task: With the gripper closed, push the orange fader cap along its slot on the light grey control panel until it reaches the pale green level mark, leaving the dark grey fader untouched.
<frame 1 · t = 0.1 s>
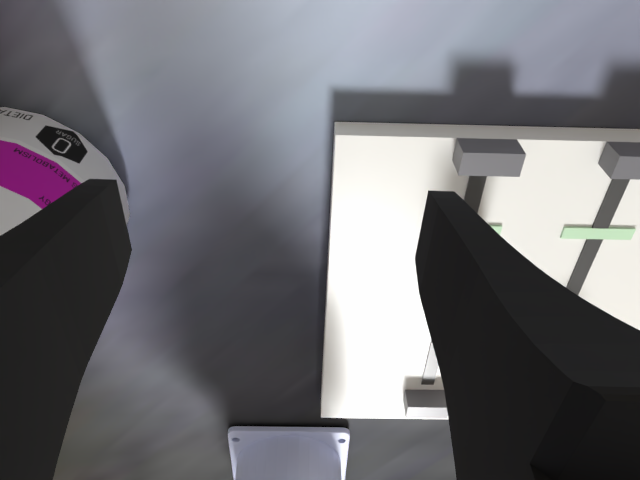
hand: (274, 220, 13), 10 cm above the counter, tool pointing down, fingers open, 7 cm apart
supplement can: (41, 184, 24), on the counter
panel: (497, 293, 28), on the counter
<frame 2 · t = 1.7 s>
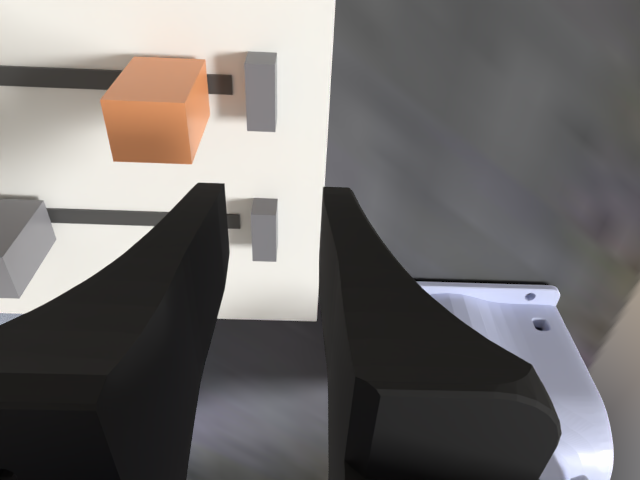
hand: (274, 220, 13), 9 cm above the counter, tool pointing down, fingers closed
fader grey: (0, 246, 21), point 3 cm above the counter, slide at 8.0 cm
panel: (91, 138, 22), on the counter
fader orange: (161, 108, 17), point 3 cm above the counter, slide at 1.0 cm
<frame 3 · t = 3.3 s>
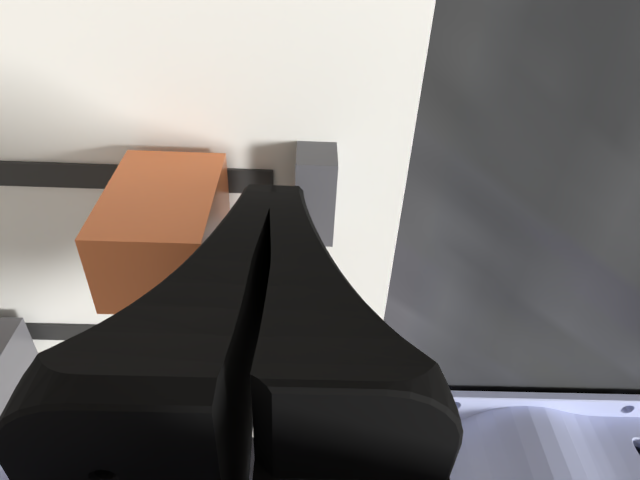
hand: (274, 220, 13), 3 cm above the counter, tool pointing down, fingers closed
panel: (84, 236, 17), on the counter
fader orange: (165, 228, 12), point 3 cm above the counter, slide at 1.3 cm, touching gripper
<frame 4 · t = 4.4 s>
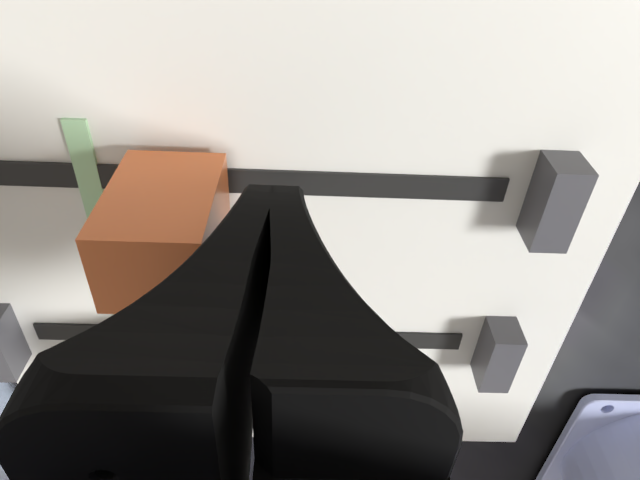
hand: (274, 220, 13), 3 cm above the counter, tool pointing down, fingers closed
panel: (282, 242, 17), on the counter
fader orange: (166, 227, 12), point 3 cm above the counter, slide at 7.5 cm, touching gripper
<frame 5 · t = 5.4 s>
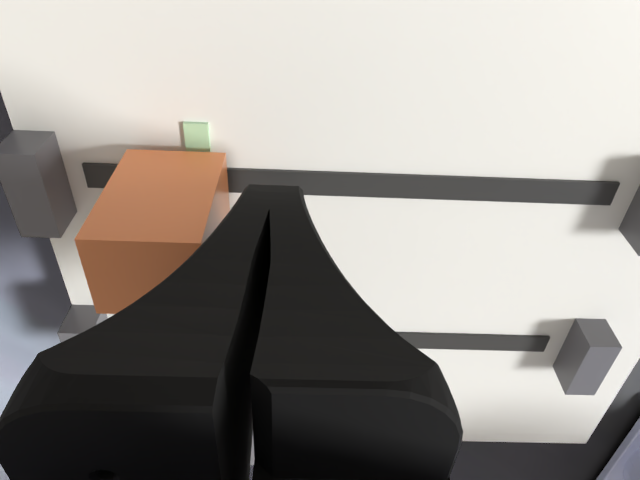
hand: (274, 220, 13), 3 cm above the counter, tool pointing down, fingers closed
fader grey: (274, 391, 16), point 3 cm above the counter, slide at 8.0 cm
panel: (375, 245, 17), on the counter
fader orange: (165, 227, 12), point 3 cm above the counter, slide at 10.5 cm, touching gripper
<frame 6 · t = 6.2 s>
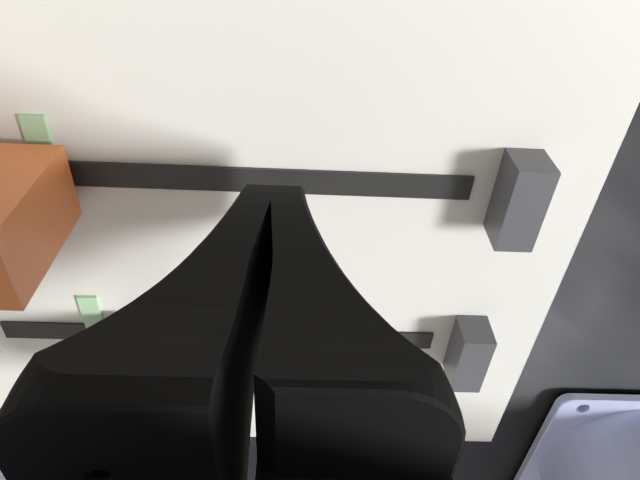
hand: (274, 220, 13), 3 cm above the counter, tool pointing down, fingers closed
panel: (251, 240, 17), on the counter
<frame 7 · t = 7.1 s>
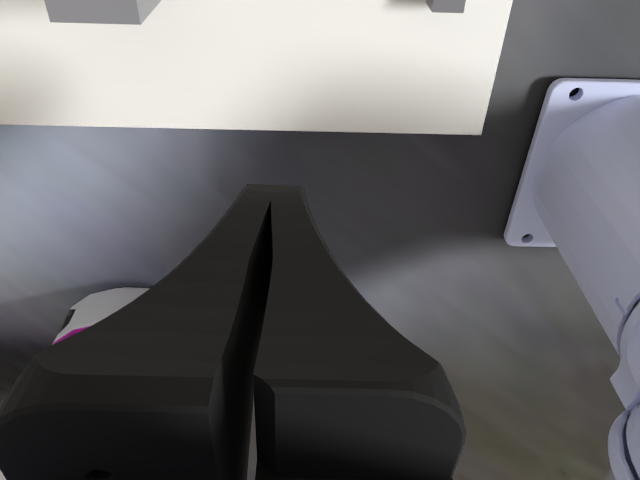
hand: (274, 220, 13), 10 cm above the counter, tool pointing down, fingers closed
supplement can: (146, 330, 30), on the counter
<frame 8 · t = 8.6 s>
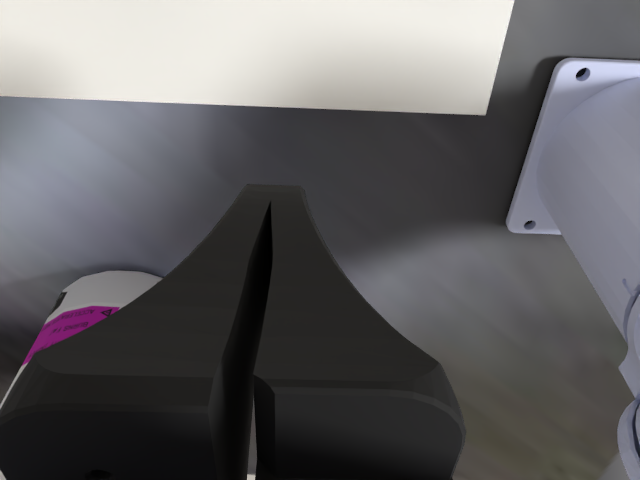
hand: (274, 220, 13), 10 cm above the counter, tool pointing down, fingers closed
supplement can: (139, 316, 29), on the counter
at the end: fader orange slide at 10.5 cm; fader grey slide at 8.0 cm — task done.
